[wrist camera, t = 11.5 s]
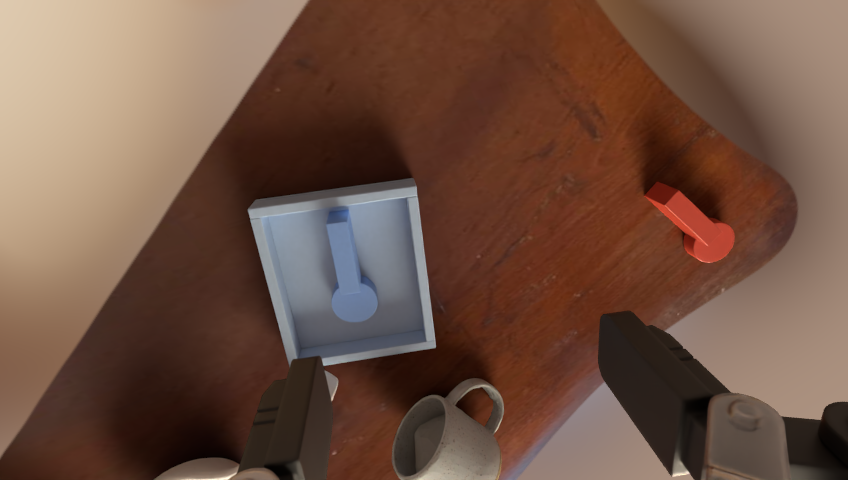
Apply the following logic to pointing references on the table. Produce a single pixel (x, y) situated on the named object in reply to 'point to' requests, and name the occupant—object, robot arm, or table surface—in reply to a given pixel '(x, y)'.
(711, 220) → the red disc with bar
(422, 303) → the blue tray
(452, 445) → the ceramic mug
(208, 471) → the spoon rest
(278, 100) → the table surface
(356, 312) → the blue spoon
